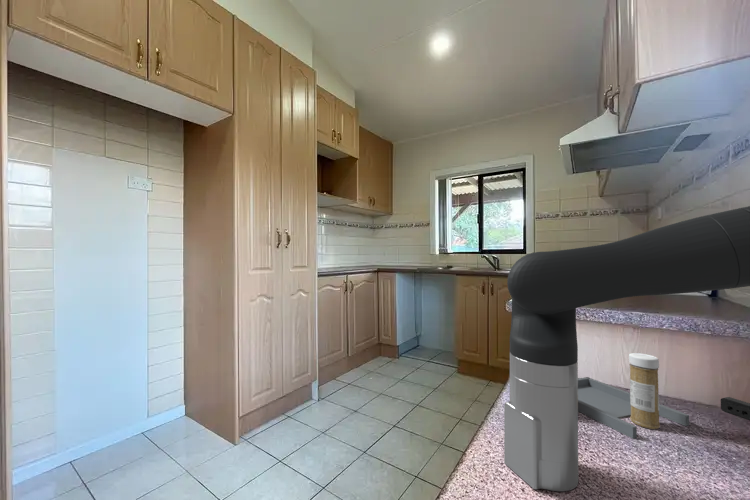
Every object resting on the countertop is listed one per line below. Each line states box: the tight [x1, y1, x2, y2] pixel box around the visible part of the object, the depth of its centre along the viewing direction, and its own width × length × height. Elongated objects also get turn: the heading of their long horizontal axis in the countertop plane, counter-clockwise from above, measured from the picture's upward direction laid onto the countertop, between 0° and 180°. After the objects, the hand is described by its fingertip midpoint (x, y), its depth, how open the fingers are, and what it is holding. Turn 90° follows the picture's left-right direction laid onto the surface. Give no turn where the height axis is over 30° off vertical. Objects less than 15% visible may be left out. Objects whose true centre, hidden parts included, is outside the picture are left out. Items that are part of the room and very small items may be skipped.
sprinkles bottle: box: [628, 352, 661, 430], centre depth 62 cm, size 5×5×13 cm
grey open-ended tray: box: [578, 376, 690, 439], centre depth 69 cm, size 16×21×2 cm
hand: (723, 403), depth 51 cm, fingers closed
